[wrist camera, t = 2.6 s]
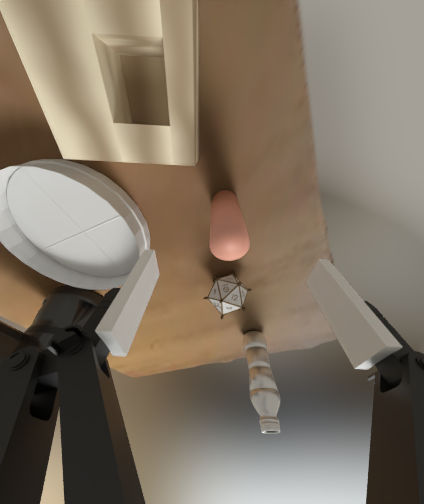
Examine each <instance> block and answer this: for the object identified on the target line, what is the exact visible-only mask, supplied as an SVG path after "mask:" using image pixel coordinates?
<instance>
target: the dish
mask: <svg viewBox="0 0 424 504" xmlns="http://www.w3.org/2000/svg"><path fill="white" fill-rule="evenodd" d="M0 242H1V243H2V244H3V245H4V246H5V247H6V248H7V250H9V251H10V252H11V253H12V254H13V255H15V256H16V257H17V258H18V259H19V260H21V261H22V262H23V263H24V264H26V265H28V266H29V267H31V268H32V269H34V270H36V271H37V272H39V273H41V274H43V275H45V276H47V277H49V278H51V279H53V280H55V281H58V282H61V283H64V284H67V285H70V286H73V287H78V288H83V289H89V290H106V289H112V288H117V287H119V286H121V285H123V284H124V283H125V281H126V279H127V278H128V276H129V274H130V273H131V271H132V270H133V268H134V266H135V265H136V263H137V261H138V260H139V258H140V257H141V255H142V253H143V252H144V250H149V249H150V234H149V230H148V227H147V223H146V221H145V219H144V217H143V215H142V213H141V211H140V209H139V208H138V206H137V205H136V204H135V203H134V201H133V200H132V199H131V198H130V197H129V196H128V194H127V193H126V192H125V191H124V190H123V189H121V188H120V187H119V186H118V185H116V184H115V183H114V182H113V181H111V180H110V179H109V178H108V177H106V176H105V175H103V174H101V173H99V172H97V171H95V170H93V169H91V168H89V167H87V166H86V165H82V164H79V163H75V162H71V161H68V160H64V159H40V160H34V161H29V162H27V163H24V164H21V165H16V166H10V167H7V168H4V169H2V170H0Z"/></svg>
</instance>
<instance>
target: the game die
mask: <svg viewBox="0 0 424 504" xmlns="http://www.w3.org/2000/svg"><path fill="white" fill-rule="evenodd" d="M214 278H215V279H216V281H215V280H213V282H214V285H213V287H212V289H211V291H210V293H209V295H208V297H204V298H203V299H209V300H210V302H211V303H212V304H213V305H214V306H215V307H216V309H217V310H218V311H219V312H220V313H221V314H222V315H221V320H222V319H223V315H225V314H228V313H231V312H233V311H236V310H240V309H242V310H243V311H246V308H245V307H243V306H244V302H245V299H246V295H247V292H248V291H251V290H252V289H247V288H246V287H245V286H244V285H243V284H242V283H241V282H240V281H239V280H238V279H237V278H236V277H235V276H234V271H232V274H231V275H228V276H224V277H221V278H217V276H214Z"/></svg>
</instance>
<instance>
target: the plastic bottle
mask: <svg viewBox="0 0 424 504" xmlns="http://www.w3.org/2000/svg"><path fill="white" fill-rule="evenodd" d="M243 346H244V349H245V352H246V356H247V361H248V365H249V376H250V398H251V401H252V403H253V405H254V407H255V409H256V410H257V412H258V413H259V414H260V417H261V419H259V421H260V424H261V431H262V432H263V433H280V427H279V420H278V419H277V417H276V414H277V412H278V409H279V405H280V396H279V392H278V390H277V387H276V384H275V381H274V378H273V375H272V372H271V369H270V364H269V359H268V352H267V341H266V339H265V336H264V335H263V334H262V333H261V332H259V331H249V332H247V333H245V334H244V336H243Z"/></svg>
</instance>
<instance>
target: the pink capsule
mask: <svg viewBox="0 0 424 504" xmlns="http://www.w3.org/2000/svg"><path fill="white" fill-rule="evenodd" d="M209 246H210V250H211V252H212V253H213V255H214V256H216V257H217V258H219V259H221V260H225V261H232V260H236V259H239V258H241V257H242V256H244V255H245V254H246V252H247V251H248V249H249V246H250V241H249V237H248V234H247V230H246V227H245V224H244V220H243V217H242V214H241V210H240V207H239V204H238V201H237V197H236V196H235V194H234V193H233V192H231V191H229V190H222V191H219V192H218V193H216V194H215V196H214V197H213V200H212V211H211V227H210V243H209Z"/></svg>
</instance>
